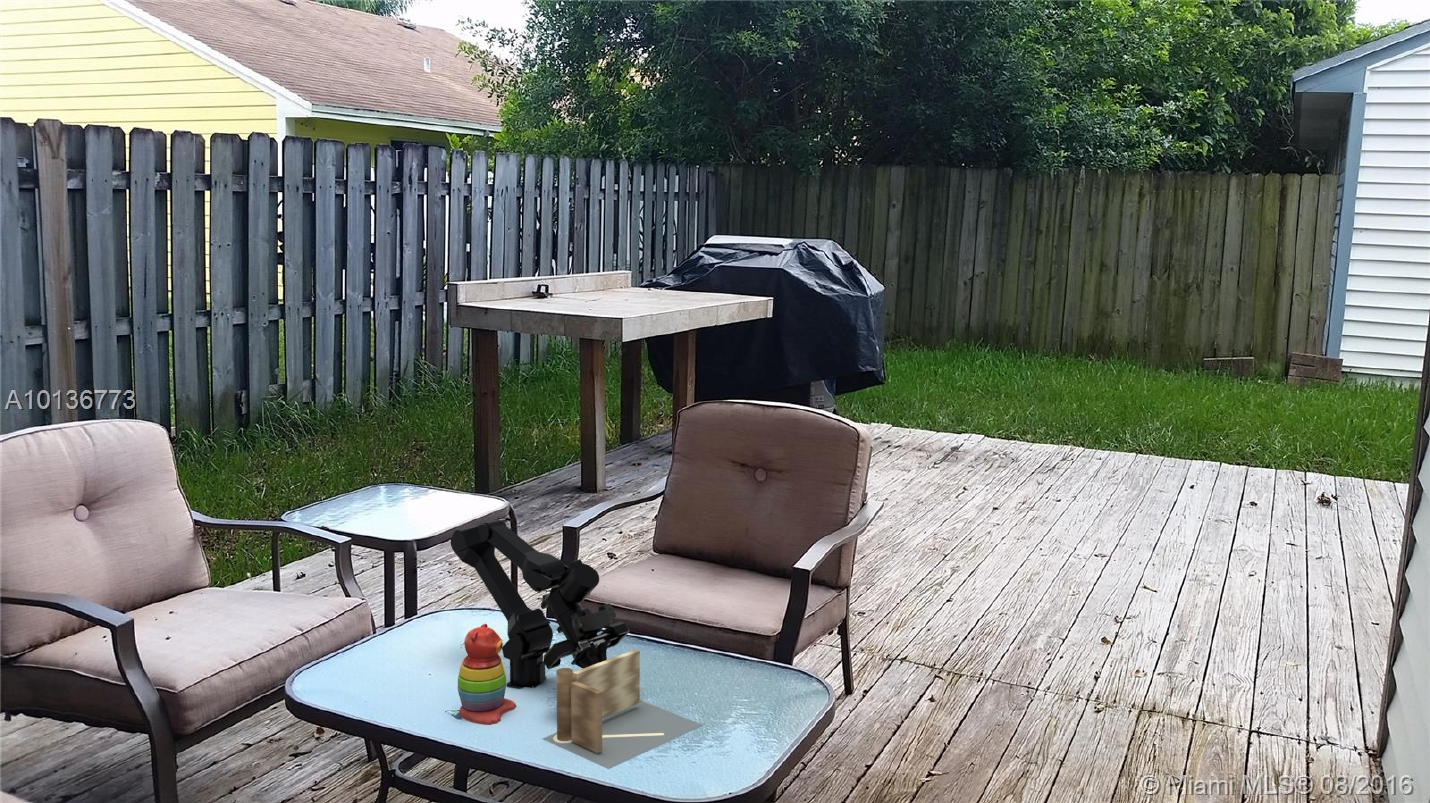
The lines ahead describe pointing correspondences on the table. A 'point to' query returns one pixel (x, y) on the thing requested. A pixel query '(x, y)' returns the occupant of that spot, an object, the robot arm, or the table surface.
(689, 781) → the table surface
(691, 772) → the table surface
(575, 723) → the fixed fence panel
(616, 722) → the board
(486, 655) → the stacking bear
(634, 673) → the folding fence panel
